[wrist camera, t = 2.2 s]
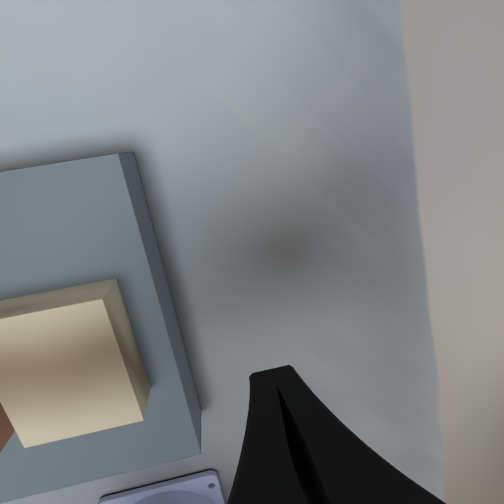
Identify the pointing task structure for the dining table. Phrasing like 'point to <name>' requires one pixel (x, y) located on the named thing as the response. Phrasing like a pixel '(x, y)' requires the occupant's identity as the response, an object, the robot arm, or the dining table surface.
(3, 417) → the terracotta tile
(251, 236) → the dining table surface
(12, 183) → the bench plate
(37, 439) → the birch tile
